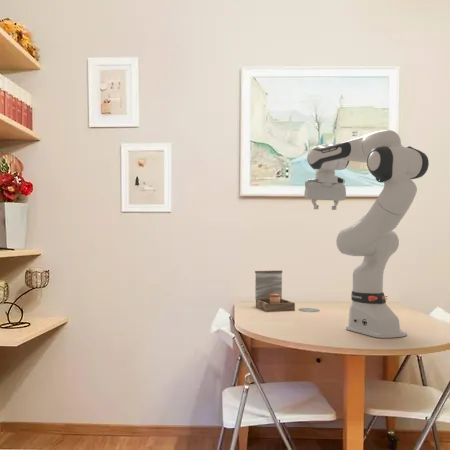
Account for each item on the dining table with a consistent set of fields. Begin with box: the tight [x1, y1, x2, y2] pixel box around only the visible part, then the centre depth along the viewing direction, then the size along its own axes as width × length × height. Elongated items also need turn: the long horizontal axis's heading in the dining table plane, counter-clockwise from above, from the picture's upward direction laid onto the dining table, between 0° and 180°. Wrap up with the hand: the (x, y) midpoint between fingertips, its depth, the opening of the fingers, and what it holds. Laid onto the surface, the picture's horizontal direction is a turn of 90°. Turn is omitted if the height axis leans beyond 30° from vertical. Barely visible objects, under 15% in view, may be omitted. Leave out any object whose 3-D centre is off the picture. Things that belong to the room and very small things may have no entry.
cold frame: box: [254, 270, 296, 313], centre depth 199 cm, size 15×14×18 cm
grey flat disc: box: [298, 307, 321, 313], centre depth 195 cm, size 10×10×1 cm
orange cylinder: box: [270, 293, 280, 304], centre depth 198 cm, size 5×5×7 cm
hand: (325, 209), depth 190 cm, fingers open, 8 cm apart
